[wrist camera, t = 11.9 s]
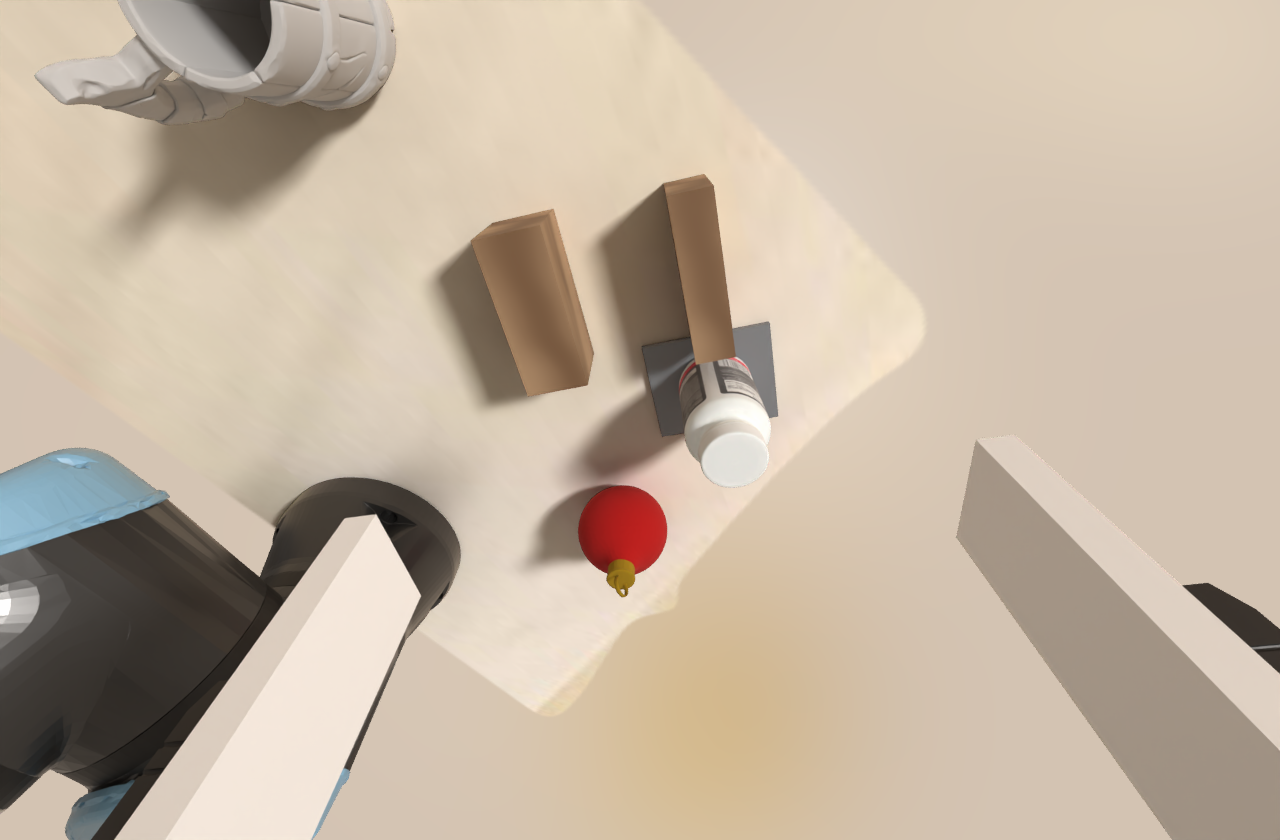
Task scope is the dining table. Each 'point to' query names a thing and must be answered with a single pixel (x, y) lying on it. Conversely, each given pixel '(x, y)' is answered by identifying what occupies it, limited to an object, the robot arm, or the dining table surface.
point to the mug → (234, 58)
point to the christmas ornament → (622, 533)
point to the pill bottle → (725, 421)
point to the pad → (675, 356)
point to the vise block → (549, 305)
